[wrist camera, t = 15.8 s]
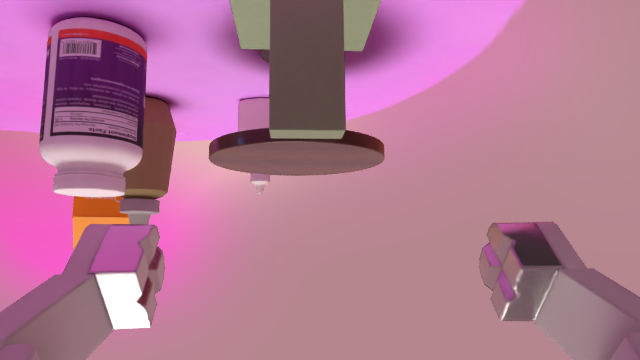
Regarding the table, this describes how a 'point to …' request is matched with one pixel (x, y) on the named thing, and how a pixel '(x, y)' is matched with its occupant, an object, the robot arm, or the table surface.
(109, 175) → the pill bottle
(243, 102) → the eye dropper bottle
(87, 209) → the orange juice
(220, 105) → the table surface
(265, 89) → the table surface
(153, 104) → the squeeze bottle
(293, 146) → the little table
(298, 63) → the chair
